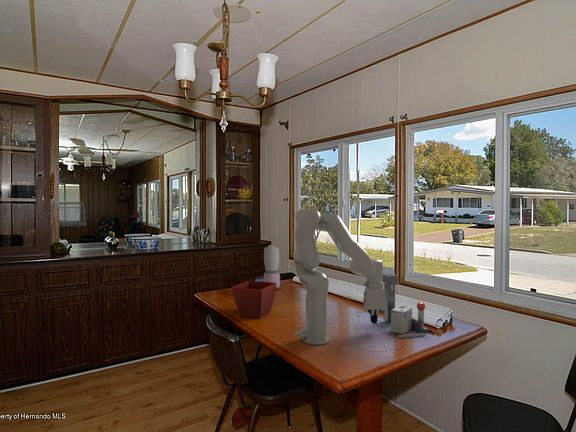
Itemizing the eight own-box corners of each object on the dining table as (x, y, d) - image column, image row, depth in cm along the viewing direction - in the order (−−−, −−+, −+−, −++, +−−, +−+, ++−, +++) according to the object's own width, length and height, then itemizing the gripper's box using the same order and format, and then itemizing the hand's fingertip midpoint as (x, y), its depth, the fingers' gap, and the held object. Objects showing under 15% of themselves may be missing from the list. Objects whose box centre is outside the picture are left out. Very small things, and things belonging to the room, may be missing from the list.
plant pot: (231, 316, 194) (230, 286, 193) (249, 307, 211) (249, 280, 210) (261, 321, 185) (261, 290, 185) (277, 311, 203) (277, 282, 202)
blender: (275, 291, 252) (275, 247, 251) (260, 289, 257) (260, 246, 256) (284, 286, 266) (284, 245, 265) (270, 285, 271) (270, 244, 270)
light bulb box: (399, 325, 178) (399, 304, 178) (412, 328, 174) (412, 307, 174) (390, 331, 170) (390, 309, 170) (404, 334, 166) (404, 311, 165)
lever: (420, 331, 169) (420, 303, 169) (414, 327, 174) (414, 301, 174) (427, 330, 170) (427, 303, 170) (421, 327, 175) (421, 300, 175)
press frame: (398, 338, 161) (398, 284, 160) (375, 321, 185) (375, 274, 184) (425, 336, 163) (425, 283, 163) (399, 319, 187) (399, 273, 187)
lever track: (423, 335, 165) (423, 332, 165) (402, 321, 184) (402, 319, 184) (434, 334, 166) (434, 331, 166) (412, 321, 185) (412, 318, 185)
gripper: (362, 287, 163) (362, 326, 163) (392, 286, 166) (391, 324, 166) (356, 283, 170) (356, 321, 171) (385, 283, 173) (384, 319, 174)
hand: (373, 322), depth 169 cm, fingers closed
